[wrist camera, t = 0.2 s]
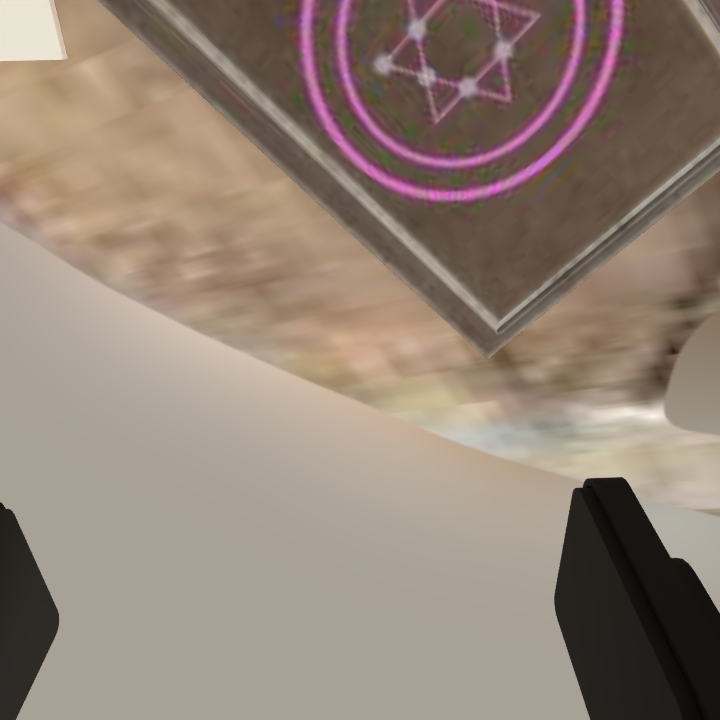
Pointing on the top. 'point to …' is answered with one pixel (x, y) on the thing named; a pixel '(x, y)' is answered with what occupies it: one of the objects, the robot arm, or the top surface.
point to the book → (466, 128)
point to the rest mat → (30, 31)
